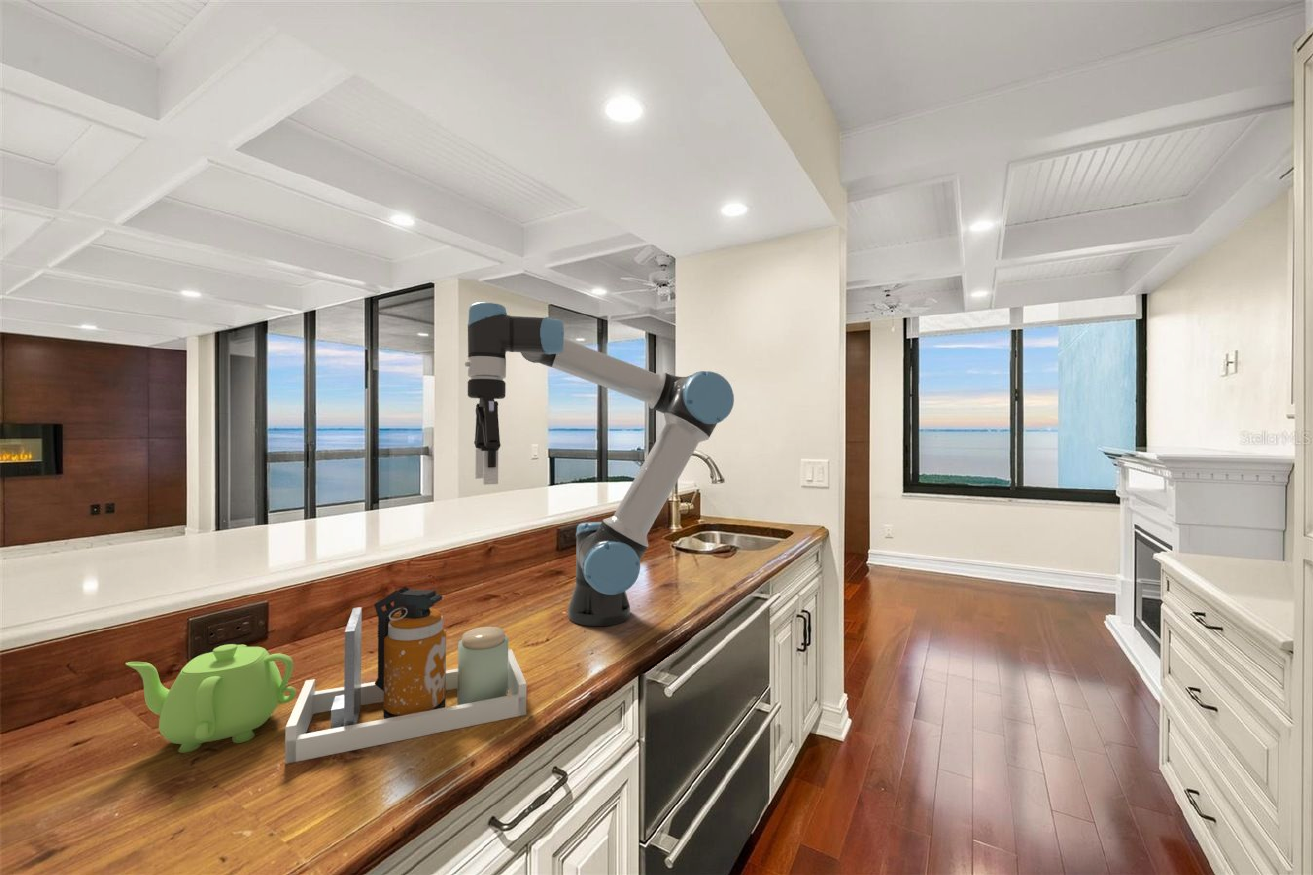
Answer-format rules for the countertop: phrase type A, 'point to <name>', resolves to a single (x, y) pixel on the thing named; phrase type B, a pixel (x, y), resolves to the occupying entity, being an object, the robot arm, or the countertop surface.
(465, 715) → the white rectangular frame
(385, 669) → the canister
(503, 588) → the countertop surface
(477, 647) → the jar
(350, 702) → the panel
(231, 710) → the teapot
